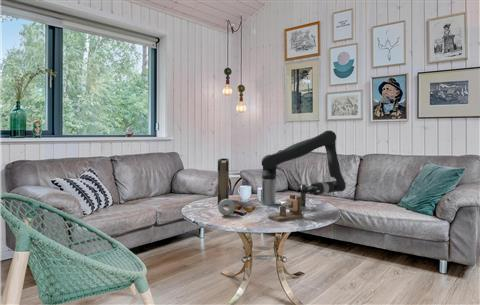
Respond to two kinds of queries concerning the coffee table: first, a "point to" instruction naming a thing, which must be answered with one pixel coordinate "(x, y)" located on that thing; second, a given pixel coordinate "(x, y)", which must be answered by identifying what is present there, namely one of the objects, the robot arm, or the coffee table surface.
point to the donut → (223, 203)
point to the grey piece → (301, 196)
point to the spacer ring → (295, 204)
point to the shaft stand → (290, 215)
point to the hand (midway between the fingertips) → (299, 190)
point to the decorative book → (223, 179)
